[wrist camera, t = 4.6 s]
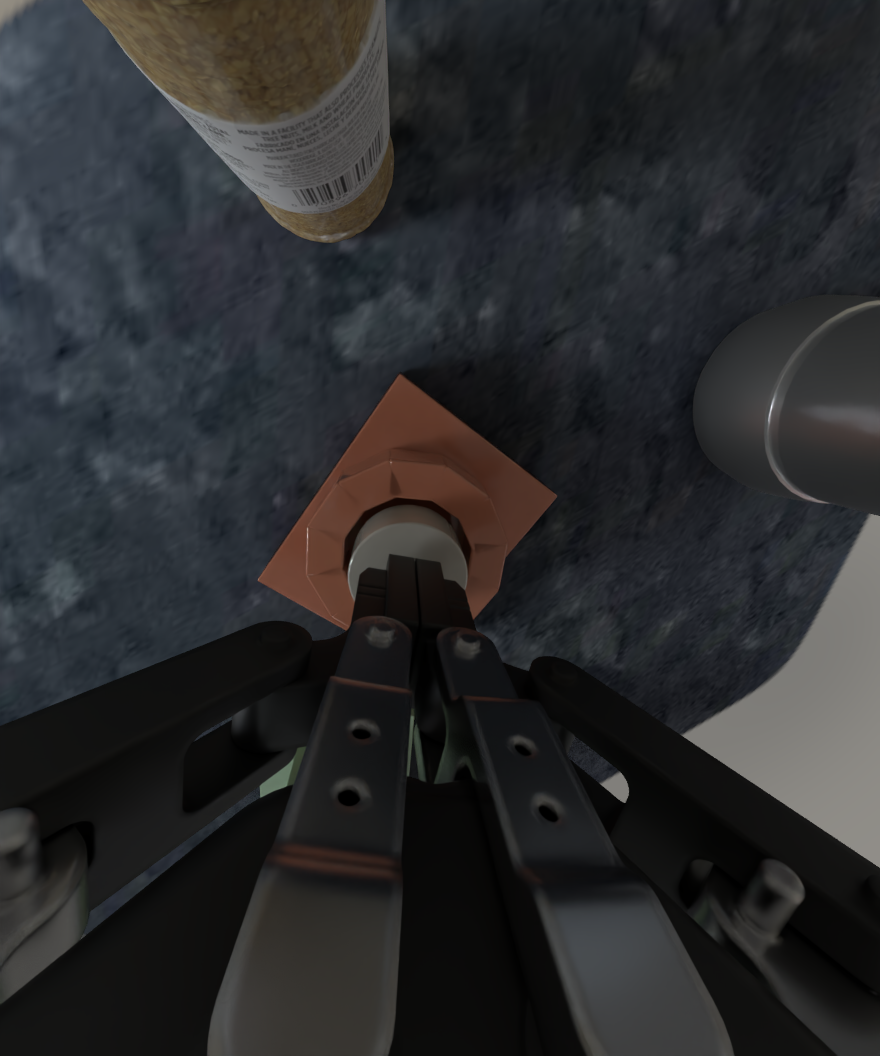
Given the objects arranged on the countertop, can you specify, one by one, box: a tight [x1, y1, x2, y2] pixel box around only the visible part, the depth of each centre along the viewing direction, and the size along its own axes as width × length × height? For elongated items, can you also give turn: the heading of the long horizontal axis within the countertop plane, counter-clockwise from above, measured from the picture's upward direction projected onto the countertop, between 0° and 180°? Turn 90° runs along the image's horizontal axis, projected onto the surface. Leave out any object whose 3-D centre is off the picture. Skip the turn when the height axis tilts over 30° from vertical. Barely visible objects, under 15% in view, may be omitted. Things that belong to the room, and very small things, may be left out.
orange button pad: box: [258, 372, 557, 631], centre depth 17 cm, size 9×7×4 cm
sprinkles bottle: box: [82, 0, 394, 243], centre depth 8 cm, size 5×5×13 cm
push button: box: [348, 505, 468, 601], centre depth 14 cm, size 4×4×2 cm
